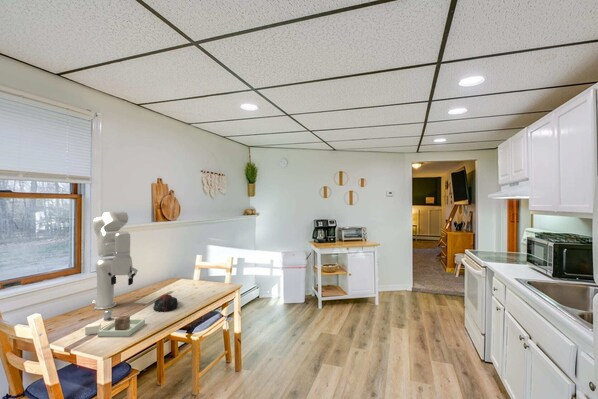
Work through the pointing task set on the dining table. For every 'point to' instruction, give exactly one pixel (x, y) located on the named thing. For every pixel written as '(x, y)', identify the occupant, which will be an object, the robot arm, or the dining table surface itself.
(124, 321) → the walnut block
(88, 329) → the cream block
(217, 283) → the dining table surface
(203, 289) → the dining table surface
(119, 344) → the dining table surface
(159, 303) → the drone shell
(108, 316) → the grey cylinder
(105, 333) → the tray
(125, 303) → the dining table surface
